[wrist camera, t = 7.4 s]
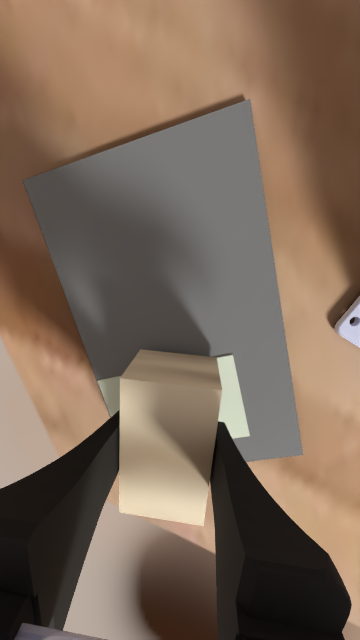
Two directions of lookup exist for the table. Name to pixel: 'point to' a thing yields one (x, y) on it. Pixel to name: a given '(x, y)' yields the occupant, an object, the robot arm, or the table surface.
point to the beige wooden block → (168, 435)
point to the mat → (177, 266)
